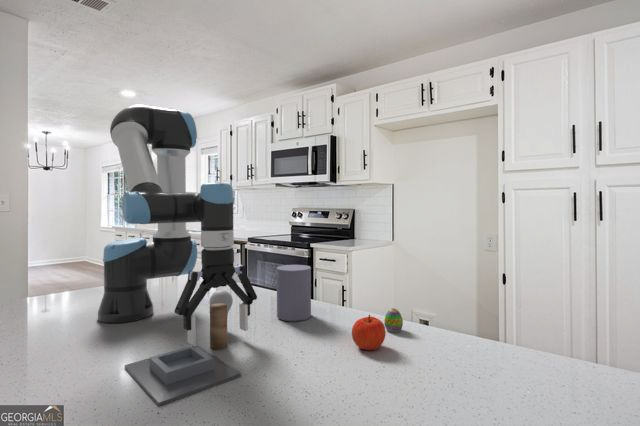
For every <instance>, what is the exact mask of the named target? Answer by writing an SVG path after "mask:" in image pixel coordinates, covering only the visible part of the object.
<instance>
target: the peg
mask: <svg viewBox="0 0 640 426" xmlns="http://www.w3.org/2000/svg"><path fill="white" fill-rule="evenodd" d="M209 345H210V346H209V349H210V350H212V351H221V350H225V349H226V348H227V347H228V316H227V304H224V303H217V304H212V305H210V304H209Z"/></svg>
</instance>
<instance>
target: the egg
mask: <svg viewBox="0 0 640 426" xmlns="http://www.w3.org/2000/svg"><path fill="white" fill-rule="evenodd" d="M383 320H384V322H383V324H384V326H385V330H386V331H387V332H390V333H399V332H400V331H402V329H403V326H404V324H403V323H404V321H403V320H404V319H403V316H402V314H401V313H400V311H399V310H398V309H396V308H390V309H389V310H388V311H386V314H385V316H384V319H383Z"/></svg>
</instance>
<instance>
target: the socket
mask: <svg viewBox="0 0 640 426" xmlns="http://www.w3.org/2000/svg"><path fill="white" fill-rule="evenodd" d="M124 370H126V371H127V373H128V374H129V375H130V376H131V377H132V378H133V379H134V380H135V381H136V383H138V384H139V385H140V387H141V388H142V389H143V390H144V391H145V393H146V394H147V395H148V396H149V397H150V399H152V400H153V401H154V402H155V404H156V405H157V406H158V407H160V406H163V405H166V404H168V403H171V402H175V401H177V400H180V399H183V398H185V397H187V396H190V395H193V394H196V393H199V392H201V391H203V390H207V389H209V388H213V387H216V386H218V385H221V384H224V383H226V382H229V381H232V380H235V379H237V378H240V377H242V372H240V371H239V370H237V369H236V368H234V367H233V366H231V365H229V364H228V363H226V362H225V361H223V360H221V359H220V358H218V357H217V356H215V355H214V354H212V353H211V352H209V351H207V350H206V349H205V348H203V347H202V346H200V345H197V344H196V345H189V346H186V347H183V348H179V349H175V350H171V351H167V352H165V353H161V354H158V355H154V356H150V357H149V358H145V359H142V360H138V361H134V362H131V363H127V364H124Z"/></svg>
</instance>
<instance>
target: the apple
mask: <svg viewBox="0 0 640 426" xmlns="http://www.w3.org/2000/svg"><path fill="white" fill-rule="evenodd" d="M351 337H352V340H353V343H354V344H355V345H356V346H357V347H359V349H362V350H366V351H375V350H377V349H379V348H380V347H381V346H382V345H383V344H384V341H385V338H386V327H385V324H384V322H383V321H382V320H380V319H379V318H377V317H375V316H371V314H368V316H365V317H362V318H361V317H360V319H357V320H356V321H355V322H354V324H353V325H352V328H351Z"/></svg>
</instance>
